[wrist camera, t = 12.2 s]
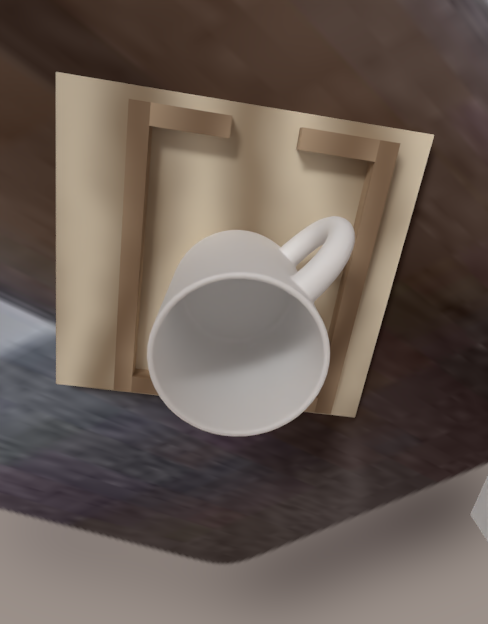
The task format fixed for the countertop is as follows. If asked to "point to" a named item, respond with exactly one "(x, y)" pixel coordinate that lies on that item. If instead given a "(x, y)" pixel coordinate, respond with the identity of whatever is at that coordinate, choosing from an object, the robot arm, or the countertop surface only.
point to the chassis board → (214, 217)
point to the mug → (247, 328)
